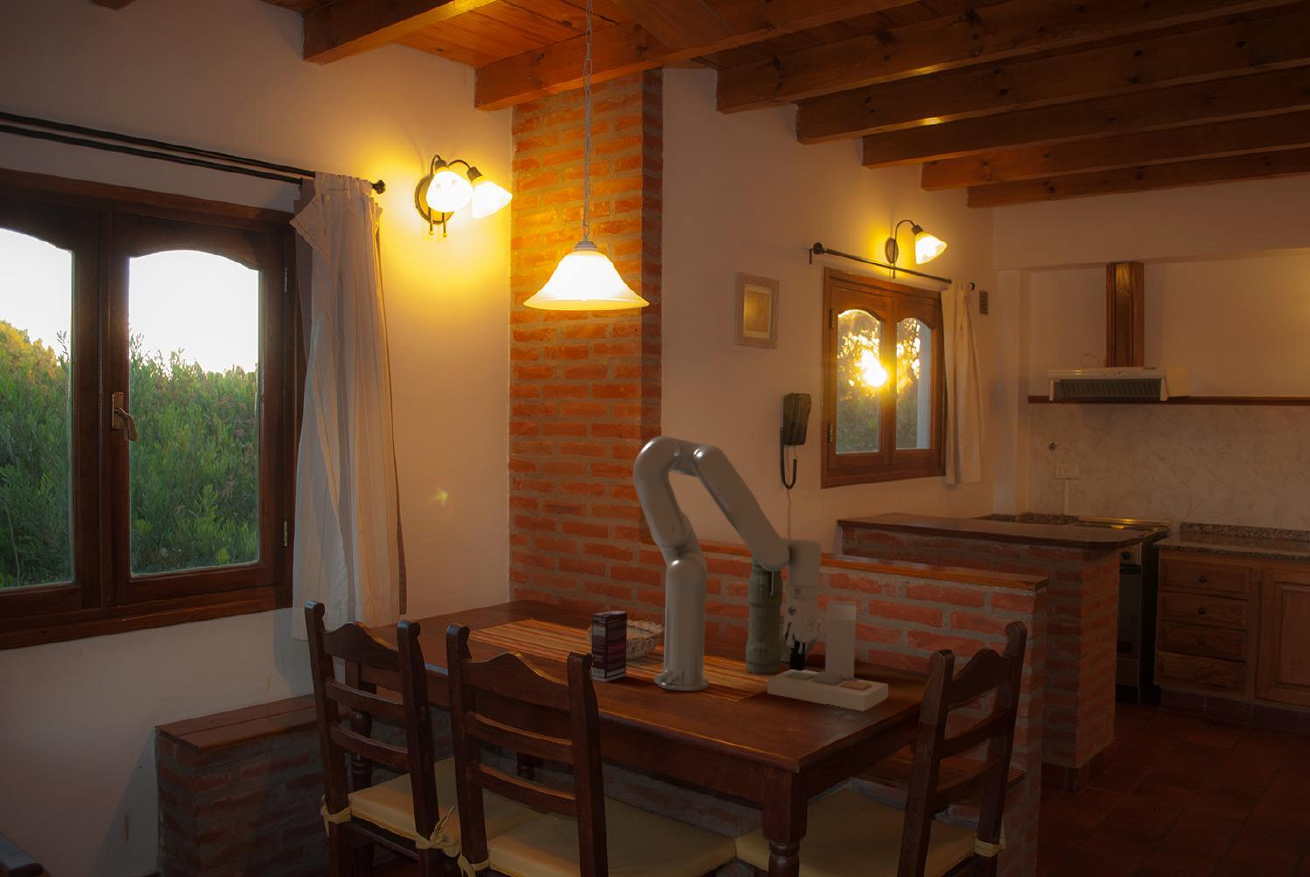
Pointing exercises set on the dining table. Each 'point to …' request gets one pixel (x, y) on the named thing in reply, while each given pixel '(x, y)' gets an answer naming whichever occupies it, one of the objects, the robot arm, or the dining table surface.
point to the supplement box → (609, 645)
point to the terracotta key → (856, 685)
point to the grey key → (827, 678)
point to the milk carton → (840, 637)
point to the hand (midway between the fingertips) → (797, 669)
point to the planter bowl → (786, 650)
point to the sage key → (800, 675)
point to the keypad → (827, 691)
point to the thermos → (764, 620)
